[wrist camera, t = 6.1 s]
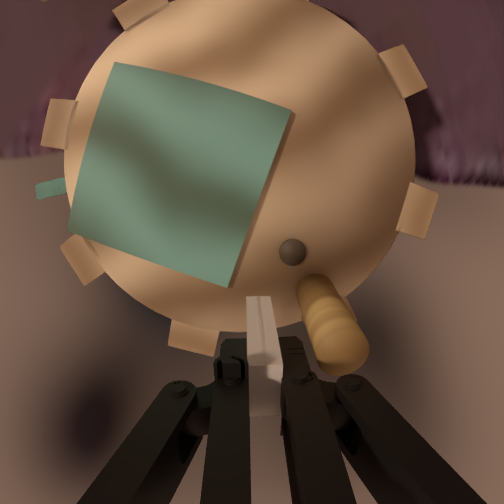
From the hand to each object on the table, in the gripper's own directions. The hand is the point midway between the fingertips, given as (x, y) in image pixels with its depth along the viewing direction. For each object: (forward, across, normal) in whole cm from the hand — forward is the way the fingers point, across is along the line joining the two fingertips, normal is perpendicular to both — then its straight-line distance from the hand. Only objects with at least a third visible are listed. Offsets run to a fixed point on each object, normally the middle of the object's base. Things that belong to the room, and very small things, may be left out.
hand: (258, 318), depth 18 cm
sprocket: (+4, -1, +9) cm, 10 cm away
